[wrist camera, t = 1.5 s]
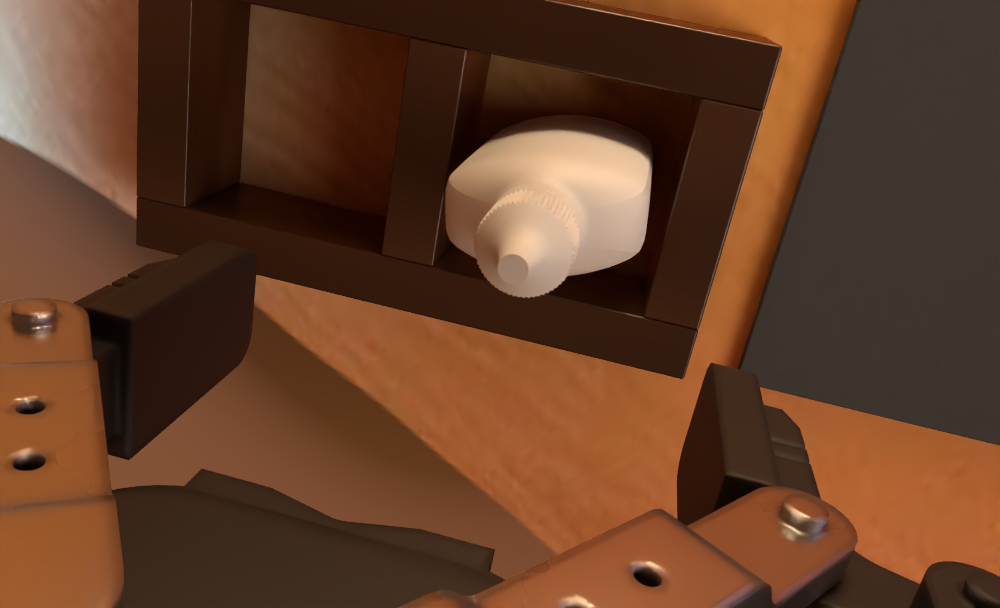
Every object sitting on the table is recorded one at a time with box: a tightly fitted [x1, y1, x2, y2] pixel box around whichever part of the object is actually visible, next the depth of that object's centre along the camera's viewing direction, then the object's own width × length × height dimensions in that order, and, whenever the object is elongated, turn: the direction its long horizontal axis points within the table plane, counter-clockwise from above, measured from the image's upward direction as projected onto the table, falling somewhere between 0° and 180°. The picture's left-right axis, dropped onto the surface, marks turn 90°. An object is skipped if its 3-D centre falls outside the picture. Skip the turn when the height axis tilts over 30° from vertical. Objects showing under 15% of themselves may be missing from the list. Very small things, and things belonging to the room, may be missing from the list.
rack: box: [136, 0, 782, 379], centre depth 28 cm, size 11×19×4 cm, turn 79°
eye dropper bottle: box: [445, 115, 654, 298], centre depth 24 cm, size 4×6×12 cm
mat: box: [738, 0, 1000, 445], centre depth 27 cm, size 15×12×1 cm
